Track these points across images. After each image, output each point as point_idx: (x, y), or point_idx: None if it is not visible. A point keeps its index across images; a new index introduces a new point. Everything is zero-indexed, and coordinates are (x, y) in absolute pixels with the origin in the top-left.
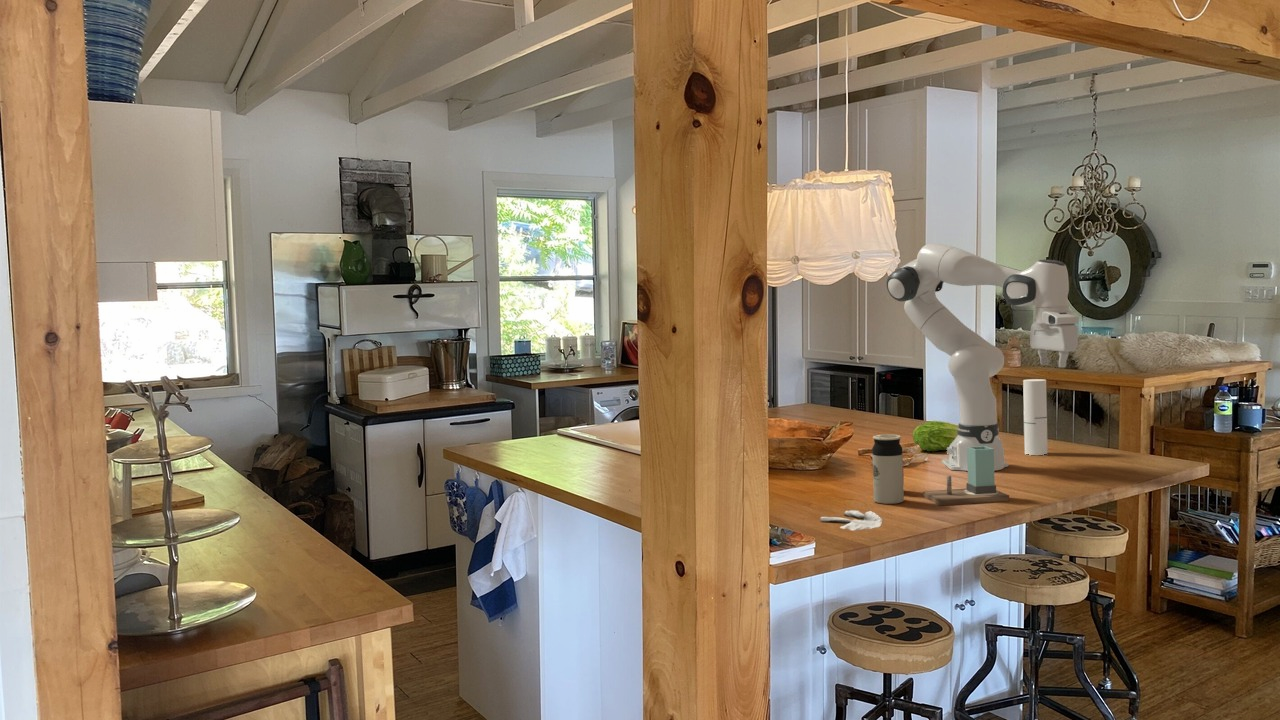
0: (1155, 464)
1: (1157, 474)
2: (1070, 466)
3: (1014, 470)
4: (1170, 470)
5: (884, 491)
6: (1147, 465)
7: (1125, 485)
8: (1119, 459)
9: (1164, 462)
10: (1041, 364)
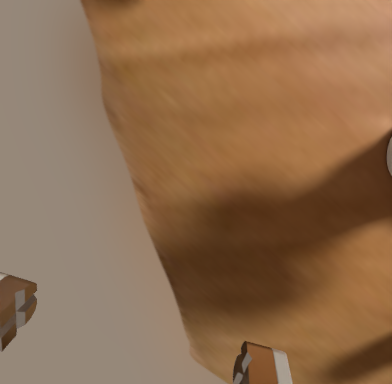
0: None
1: (193, 313)
2: (320, 279)
3: (365, 185)
4: (205, 342)
5: None
6: None
7: (153, 228)
8: (309, 360)
9: None
10: (275, 349)
